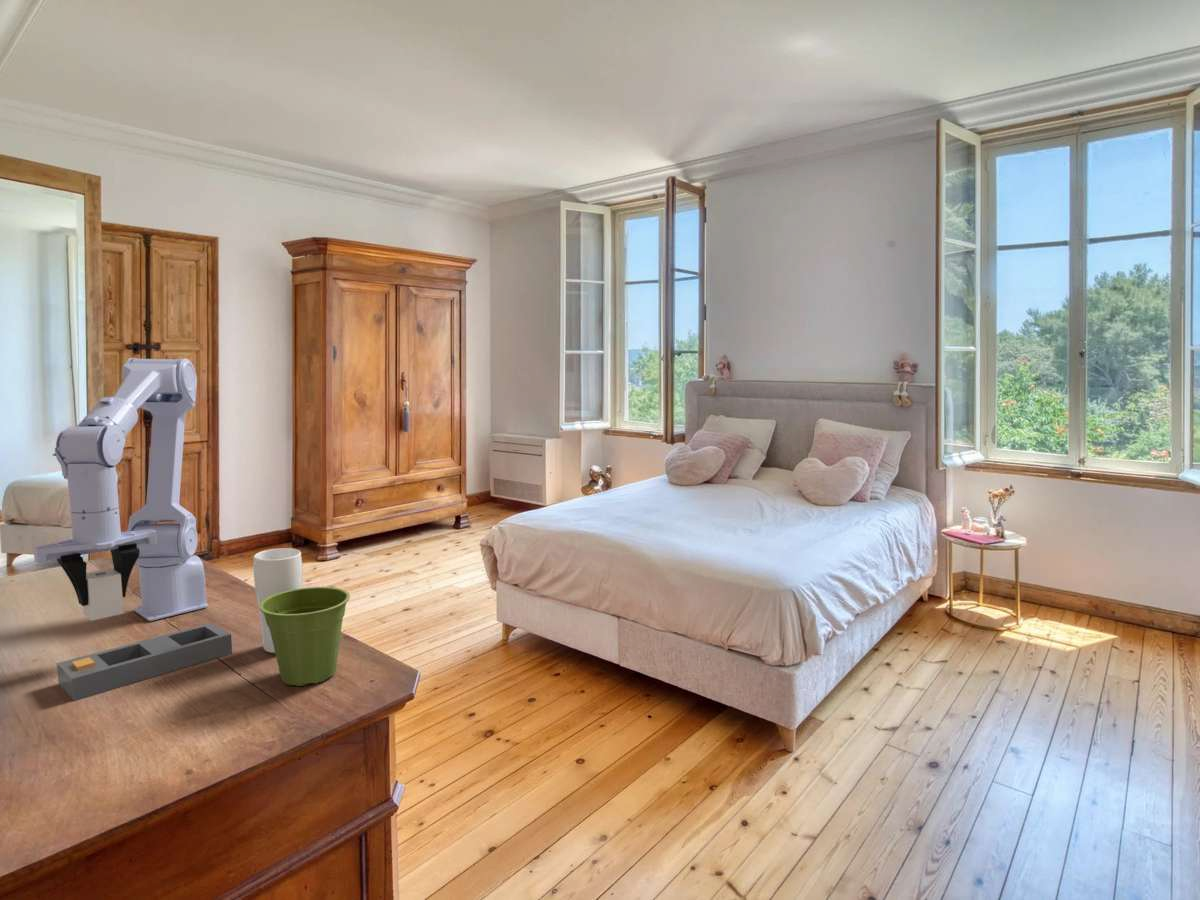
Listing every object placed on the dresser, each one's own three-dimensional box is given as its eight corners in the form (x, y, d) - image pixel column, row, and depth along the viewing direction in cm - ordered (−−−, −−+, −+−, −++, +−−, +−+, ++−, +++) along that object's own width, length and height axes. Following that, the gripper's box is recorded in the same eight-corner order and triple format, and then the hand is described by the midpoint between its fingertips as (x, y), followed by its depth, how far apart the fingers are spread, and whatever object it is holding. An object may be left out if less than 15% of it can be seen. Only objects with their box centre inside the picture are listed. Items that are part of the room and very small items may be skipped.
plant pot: (363, 657, 108) (360, 585, 106) (336, 695, 96) (333, 615, 94) (283, 657, 107) (280, 585, 106) (247, 695, 96) (242, 614, 94)
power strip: (212, 640, 113) (211, 619, 112) (232, 653, 108) (230, 631, 108) (58, 684, 98) (56, 659, 97) (73, 700, 93) (71, 675, 93)
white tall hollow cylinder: (258, 660, 106) (253, 562, 104) (257, 643, 112) (252, 550, 110) (307, 651, 109) (303, 556, 107) (303, 636, 115) (299, 545, 113)
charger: (115, 606, 108) (111, 567, 107) (123, 613, 105) (120, 572, 104) (83, 613, 105) (79, 573, 104) (91, 620, 102) (88, 579, 101)
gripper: (39, 522, 95) (48, 620, 97) (161, 505, 106) (167, 593, 108) (26, 513, 99) (35, 607, 101) (144, 498, 110) (150, 583, 112)
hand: (102, 599), depth 105 cm, fingers closed on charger, 4 cm apart
